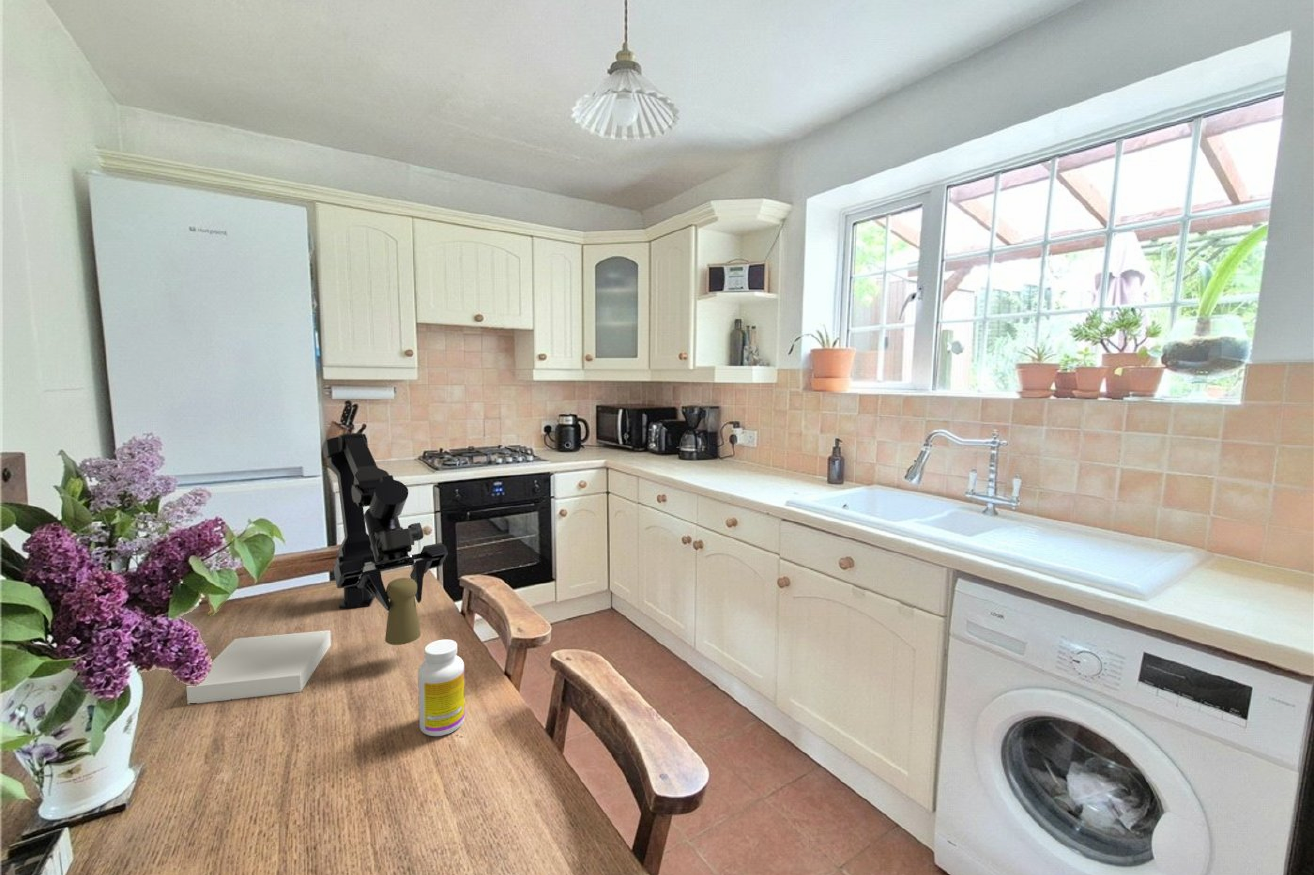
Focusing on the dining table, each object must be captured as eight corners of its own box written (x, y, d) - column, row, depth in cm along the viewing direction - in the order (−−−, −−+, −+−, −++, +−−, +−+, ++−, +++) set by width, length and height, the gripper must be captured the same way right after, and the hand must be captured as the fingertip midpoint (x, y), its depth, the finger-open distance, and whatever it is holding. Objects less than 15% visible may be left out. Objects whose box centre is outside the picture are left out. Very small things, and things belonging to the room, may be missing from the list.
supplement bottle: (472, 724, 83) (472, 647, 82) (431, 745, 79) (429, 663, 77) (452, 705, 88) (451, 631, 86) (412, 723, 83) (410, 646, 82)
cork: (427, 630, 102) (426, 575, 101) (409, 646, 96) (408, 588, 95) (397, 627, 103) (395, 573, 101) (377, 643, 97) (376, 585, 95)
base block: (236, 653, 101) (235, 638, 101) (331, 644, 105) (330, 630, 105) (187, 704, 86) (186, 687, 85) (300, 691, 90) (300, 675, 90)
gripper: (336, 518, 93) (354, 600, 86) (443, 503, 105) (466, 574, 99) (328, 549, 100) (344, 627, 93) (430, 531, 112) (451, 599, 106)
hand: (404, 605), depth 97 cm, fingers closed on cork, 5 cm apart
